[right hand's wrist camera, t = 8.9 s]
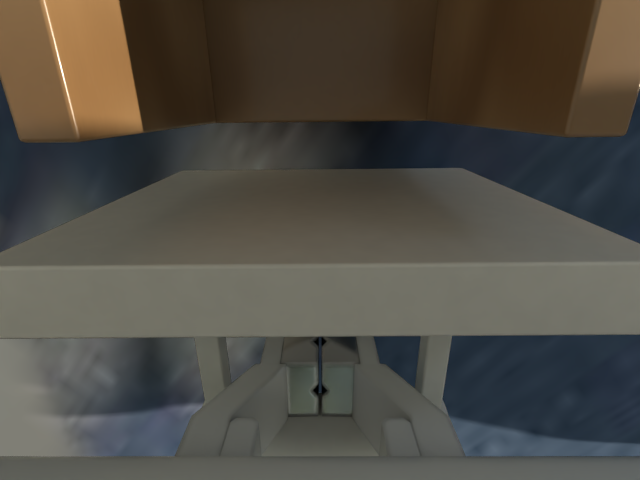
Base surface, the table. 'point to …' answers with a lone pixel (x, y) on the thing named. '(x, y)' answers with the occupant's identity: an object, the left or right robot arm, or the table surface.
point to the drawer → (320, 178)
